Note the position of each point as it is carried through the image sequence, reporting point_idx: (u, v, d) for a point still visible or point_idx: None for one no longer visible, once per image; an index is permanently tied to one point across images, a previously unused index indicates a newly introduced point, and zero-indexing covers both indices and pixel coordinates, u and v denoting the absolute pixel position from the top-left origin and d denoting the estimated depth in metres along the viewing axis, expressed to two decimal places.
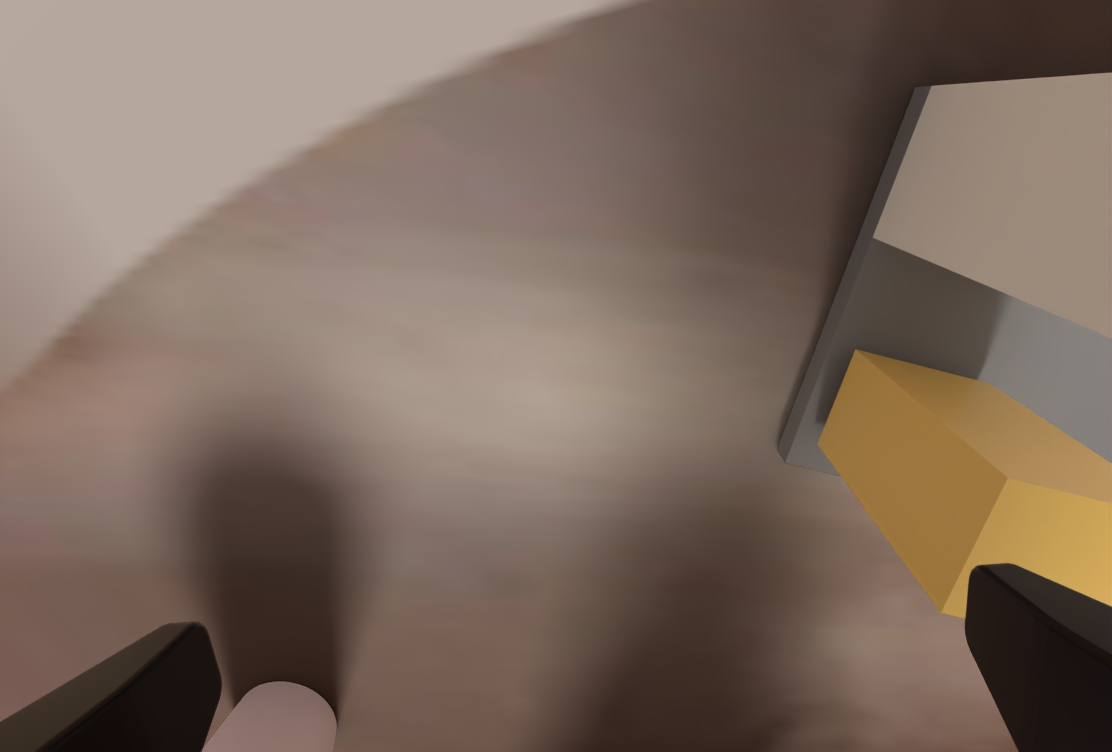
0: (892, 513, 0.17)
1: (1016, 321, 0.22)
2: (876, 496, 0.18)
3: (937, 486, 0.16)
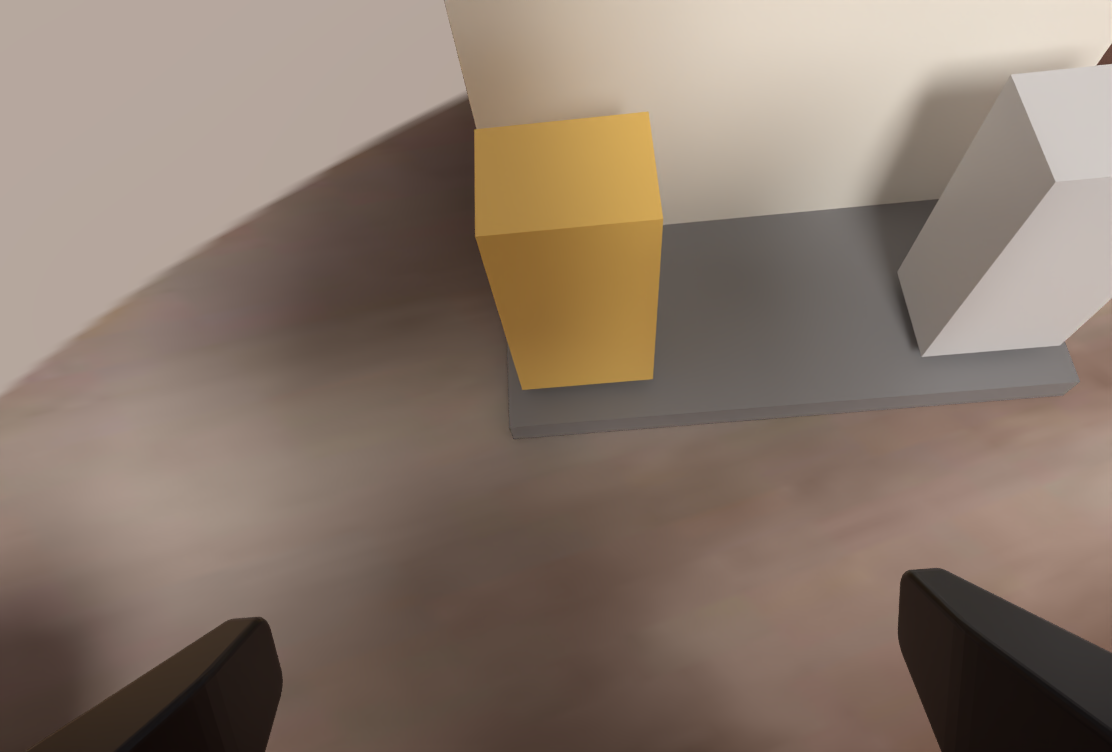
0: None
1: None
2: None
3: None
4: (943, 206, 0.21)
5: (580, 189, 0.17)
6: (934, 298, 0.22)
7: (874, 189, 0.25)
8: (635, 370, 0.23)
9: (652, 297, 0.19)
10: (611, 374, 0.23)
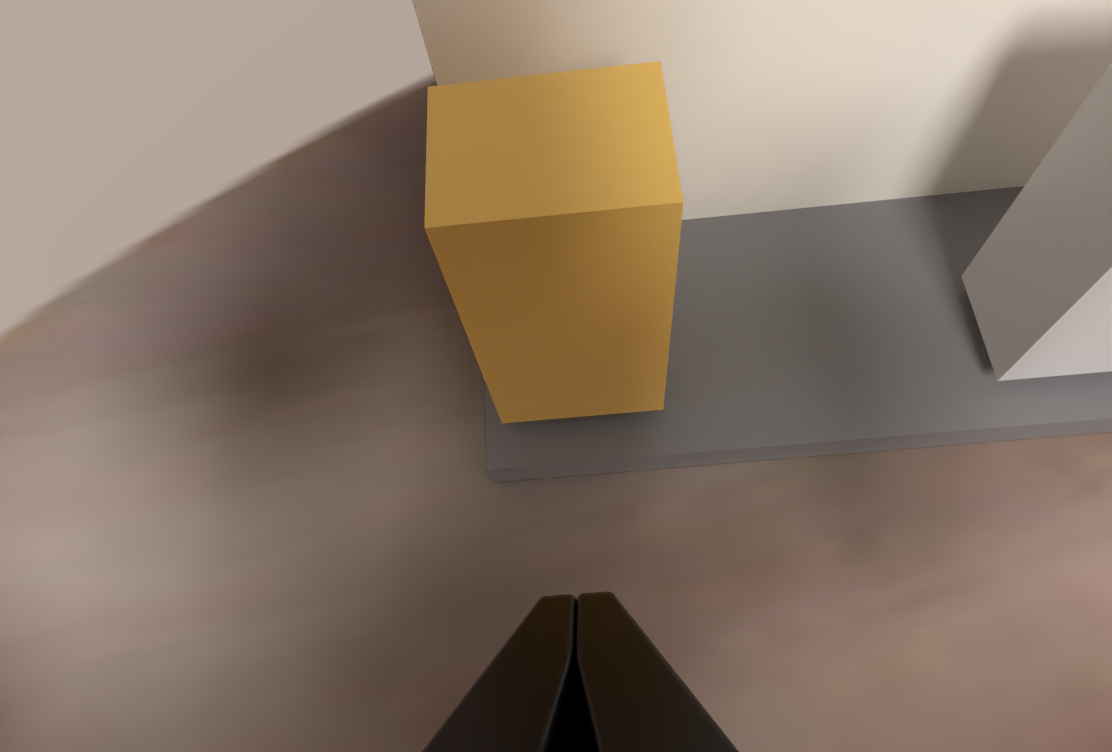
0: None
1: None
2: None
3: None
4: (1033, 191, 0.16)
5: (569, 163, 0.12)
6: (1017, 307, 0.17)
7: (929, 176, 0.21)
8: (642, 400, 0.18)
9: (665, 309, 0.15)
10: (612, 404, 0.18)
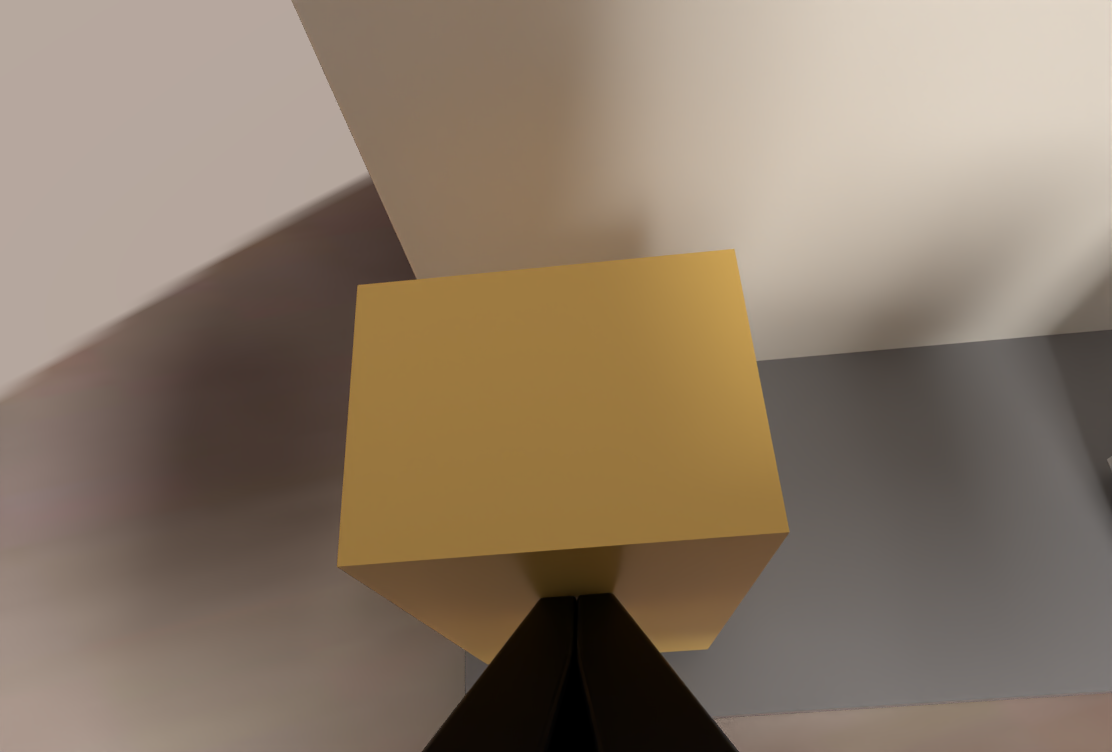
0: None
1: None
2: None
3: None
4: None
5: (589, 442, 0.07)
6: None
7: (1054, 315, 0.16)
8: (679, 646, 0.13)
9: (730, 600, 0.09)
10: None
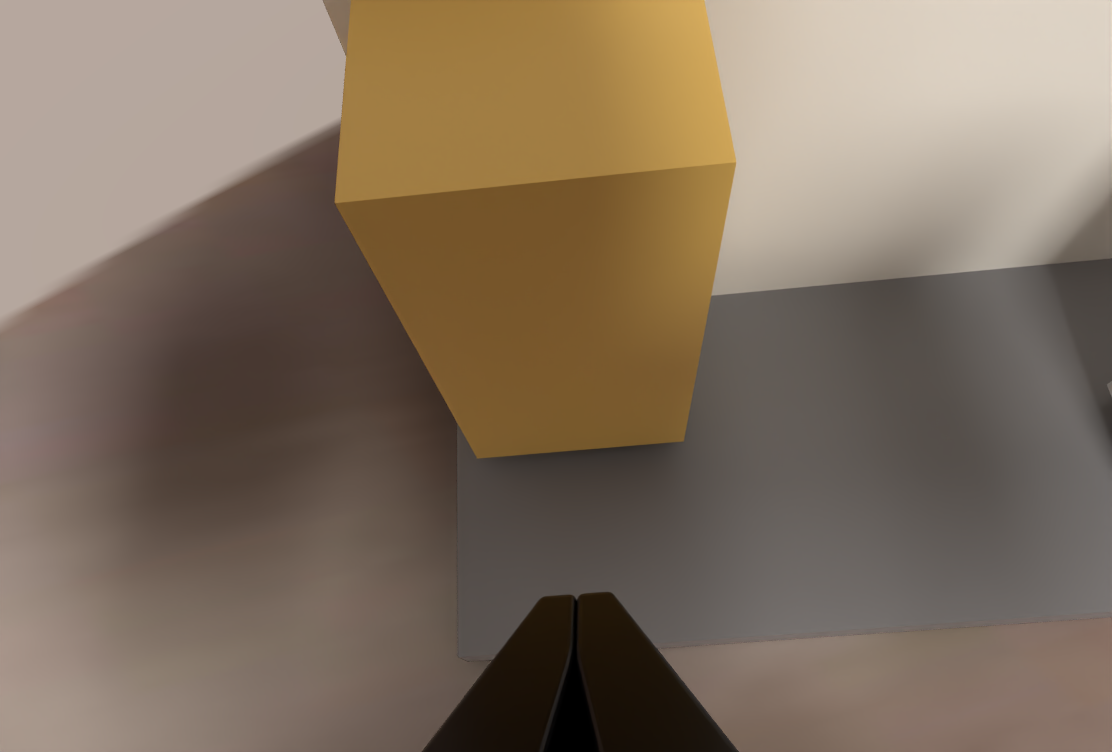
0: None
1: None
2: None
3: None
4: None
5: (560, 105, 0.08)
6: None
7: (1056, 242, 0.15)
8: (657, 431, 0.14)
9: (696, 320, 0.10)
10: (618, 436, 0.14)
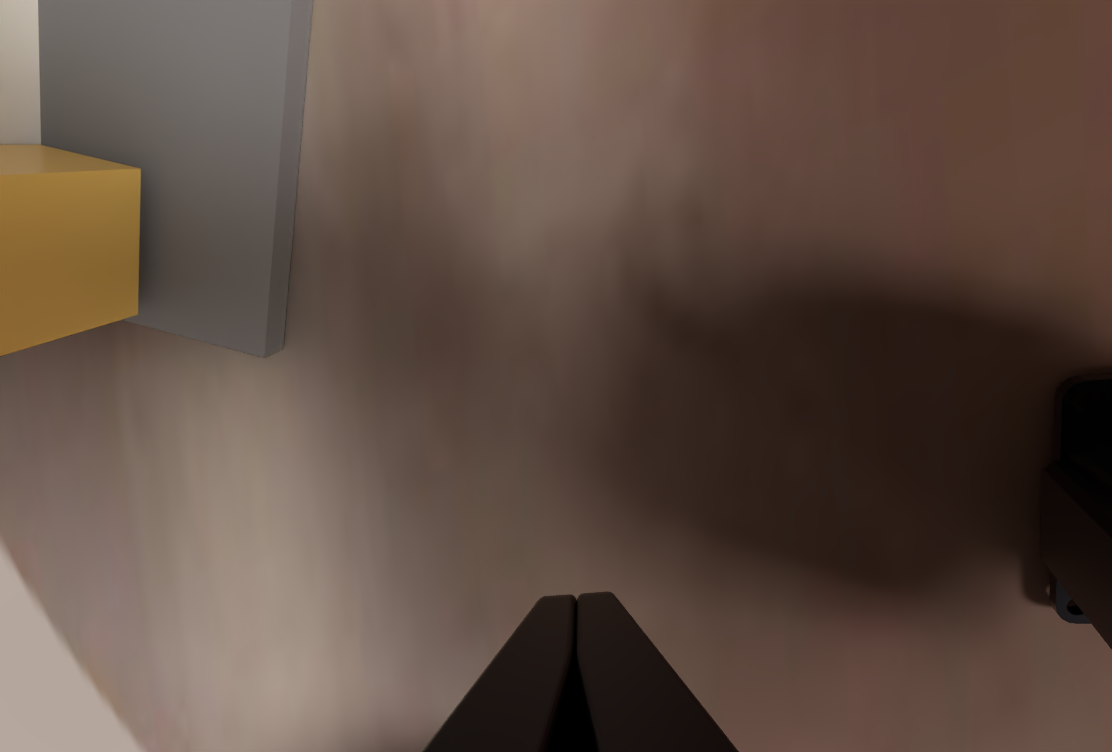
0: None
1: (79, 140, 0.21)
2: None
3: None
4: None
5: None
6: None
7: None
8: (121, 190, 0.20)
9: None
10: (124, 217, 0.20)
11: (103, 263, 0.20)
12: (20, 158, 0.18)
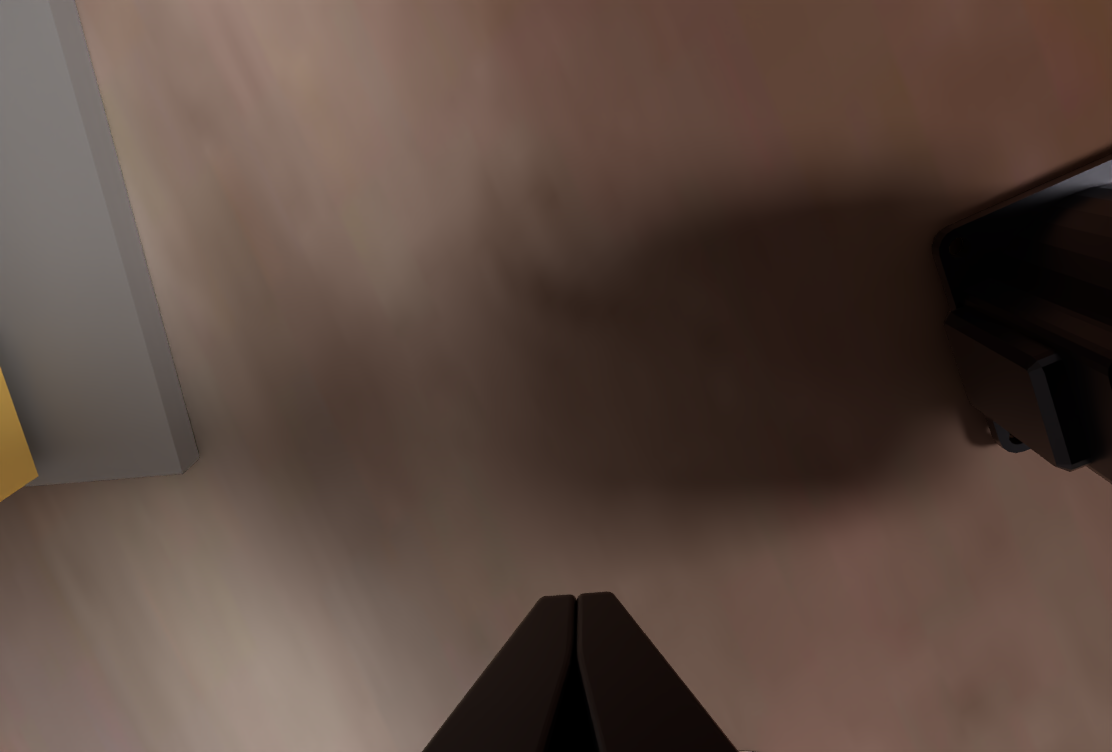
0: None
1: None
2: None
3: None
4: None
5: None
6: None
7: None
8: None
9: None
10: None
11: None
12: None
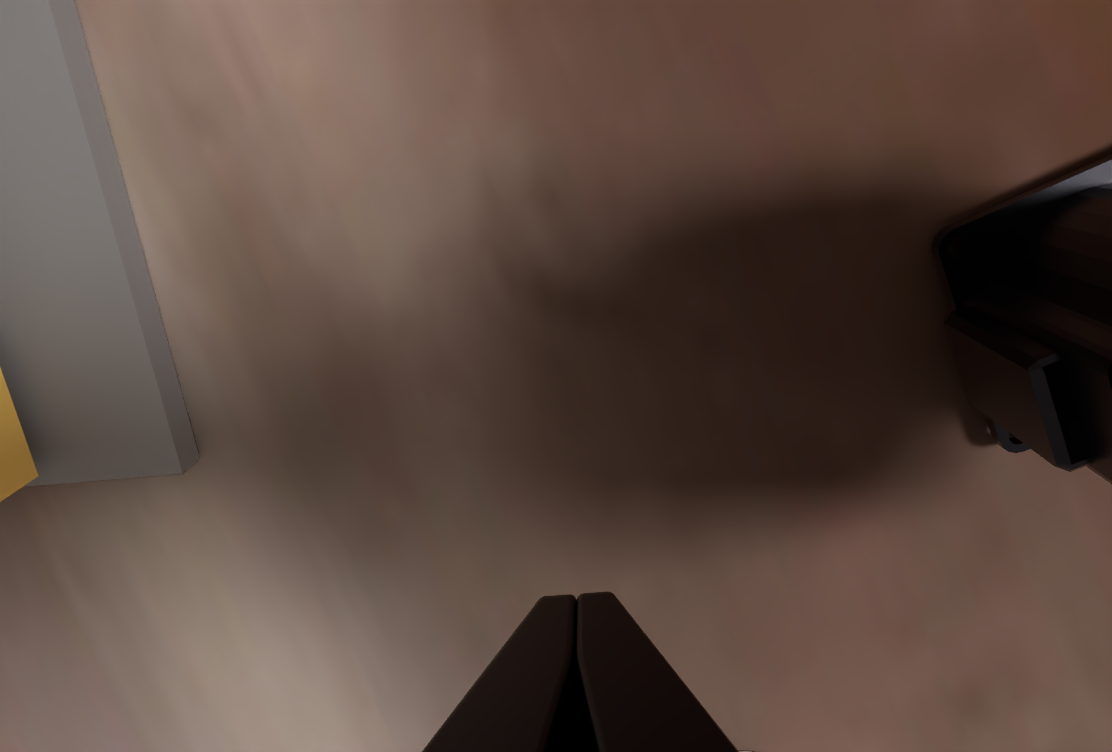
0: None
1: None
2: None
3: None
4: None
5: None
6: None
7: None
8: None
9: None
10: None
11: None
12: None
